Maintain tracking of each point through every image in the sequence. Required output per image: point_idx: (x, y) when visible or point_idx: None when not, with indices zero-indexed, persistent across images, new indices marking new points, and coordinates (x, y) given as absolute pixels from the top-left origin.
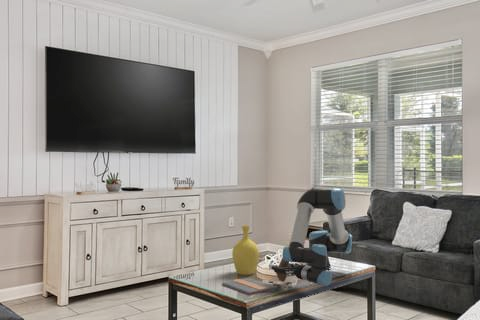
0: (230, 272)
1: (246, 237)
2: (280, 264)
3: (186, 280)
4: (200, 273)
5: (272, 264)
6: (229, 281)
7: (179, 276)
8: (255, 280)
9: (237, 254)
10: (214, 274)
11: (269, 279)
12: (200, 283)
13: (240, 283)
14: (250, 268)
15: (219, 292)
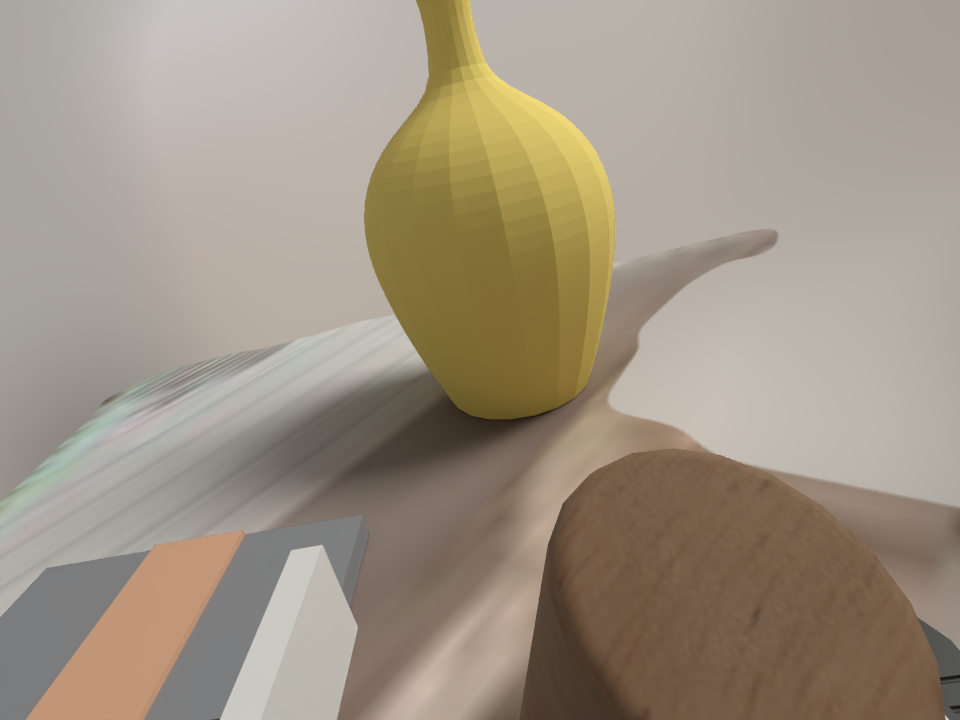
0: None
1: (445, 63)
2: (528, 677)
3: (101, 430)
4: (294, 356)
5: (281, 632)
6: (116, 562)
7: (175, 376)
8: None
9: (369, 250)
10: (326, 377)
11: None
12: (49, 498)
13: (56, 684)
14: (494, 376)
15: None
